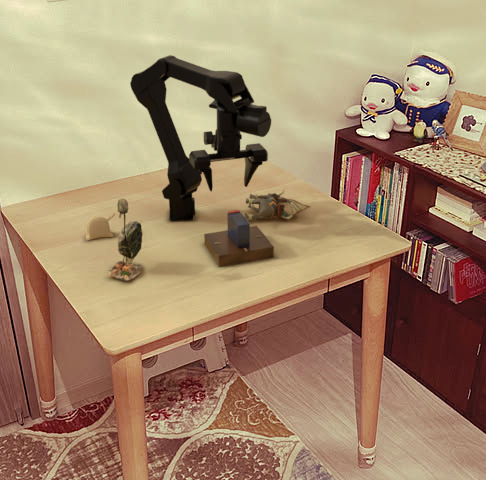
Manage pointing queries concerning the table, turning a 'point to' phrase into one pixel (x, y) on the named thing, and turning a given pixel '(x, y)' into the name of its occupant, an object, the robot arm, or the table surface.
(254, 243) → the brown slab
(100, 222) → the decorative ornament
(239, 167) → the table surface
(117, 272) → the plant with pod
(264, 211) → the figurine
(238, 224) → the blue block
